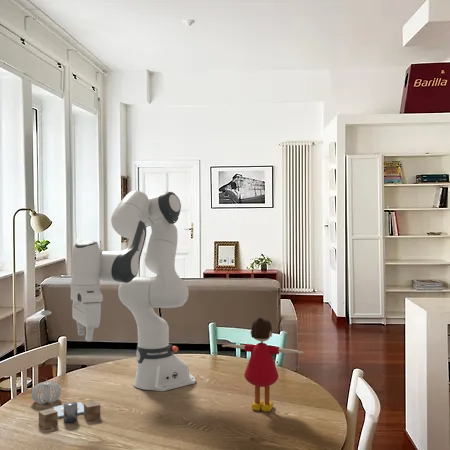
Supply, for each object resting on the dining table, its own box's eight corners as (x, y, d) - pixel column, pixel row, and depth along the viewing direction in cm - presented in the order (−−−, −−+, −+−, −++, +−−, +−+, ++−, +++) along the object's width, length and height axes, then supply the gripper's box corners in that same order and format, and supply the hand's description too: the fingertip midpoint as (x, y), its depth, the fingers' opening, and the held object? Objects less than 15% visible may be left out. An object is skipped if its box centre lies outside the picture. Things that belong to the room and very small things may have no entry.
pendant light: (52, 407, 171) (51, 314, 170) (25, 405, 172) (24, 313, 172) (66, 397, 180) (65, 309, 179) (41, 395, 182) (40, 308, 181)
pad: (80, 403, 174) (80, 401, 174) (87, 413, 166) (87, 410, 166) (52, 408, 170) (52, 406, 170) (58, 418, 162) (58, 416, 162)
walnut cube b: (51, 421, 160) (51, 408, 160) (57, 425, 157) (57, 411, 157) (38, 424, 157) (38, 411, 157) (44, 428, 154) (44, 415, 154)
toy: (305, 409, 169) (306, 315, 169) (299, 422, 159) (299, 322, 158) (226, 399, 178) (226, 310, 177) (215, 411, 168) (215, 316, 167)
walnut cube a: (96, 413, 166) (96, 400, 166) (100, 418, 162) (100, 405, 162) (84, 415, 164) (83, 403, 164) (87, 420, 161) (87, 407, 160)
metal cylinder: (75, 417, 163) (75, 401, 163) (78, 421, 159) (78, 405, 159) (62, 419, 161) (62, 403, 161) (65, 424, 157) (65, 407, 157)
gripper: (67, 290, 173) (67, 332, 173) (83, 297, 155) (82, 345, 155) (86, 289, 176) (86, 331, 176) (104, 296, 158) (104, 343, 158)
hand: (84, 337), depth 165 cm, fingers open, 8 cm apart
